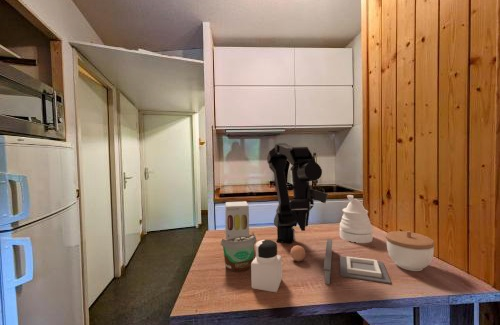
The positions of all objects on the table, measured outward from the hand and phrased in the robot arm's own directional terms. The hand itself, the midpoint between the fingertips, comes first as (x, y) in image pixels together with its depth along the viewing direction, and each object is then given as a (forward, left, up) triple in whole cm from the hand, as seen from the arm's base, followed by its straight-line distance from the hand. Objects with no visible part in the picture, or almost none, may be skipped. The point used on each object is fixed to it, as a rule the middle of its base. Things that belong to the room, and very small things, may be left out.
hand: (304, 228), depth 78 cm
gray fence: (+8, 0, -11) cm, 14 cm away
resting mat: (+18, 0, -11) cm, 21 cm away
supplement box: (-29, +7, -11) cm, 32 cm away
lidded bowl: (+32, +7, -11) cm, 34 cm away
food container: (-18, -11, -11) cm, 25 cm away
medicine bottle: (-8, -17, -11) cm, 22 cm away
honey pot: (+18, +29, -12) cm, 36 cm away
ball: (-2, 0, -9) cm, 9 cm away
